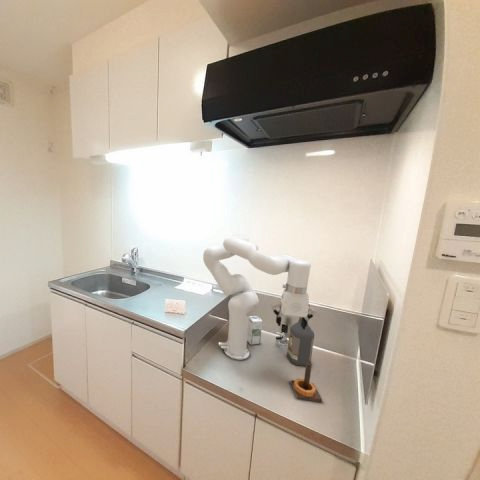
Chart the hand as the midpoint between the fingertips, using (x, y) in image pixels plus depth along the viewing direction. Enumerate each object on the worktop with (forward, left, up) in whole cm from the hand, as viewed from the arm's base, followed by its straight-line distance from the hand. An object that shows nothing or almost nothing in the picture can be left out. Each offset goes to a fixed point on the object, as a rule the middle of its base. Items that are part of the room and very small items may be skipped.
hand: (290, 326), depth 108 cm
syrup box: (-9, +29, -27) cm, 40 cm away
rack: (+7, -5, -27) cm, 28 cm away
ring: (+6, -6, -25) cm, 26 cm away
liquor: (+11, +17, -27) cm, 33 cm away
